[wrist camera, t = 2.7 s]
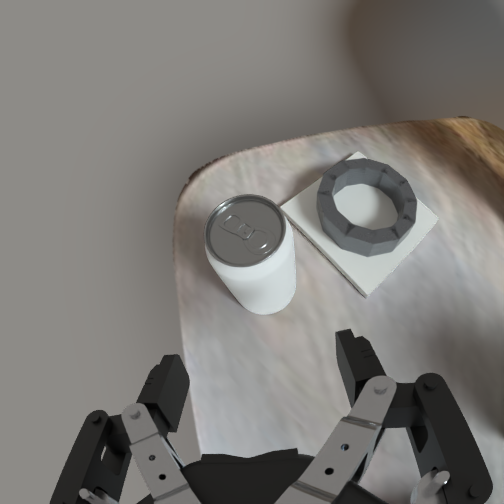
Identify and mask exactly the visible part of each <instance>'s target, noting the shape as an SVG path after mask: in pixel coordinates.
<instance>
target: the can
mask: <svg viewBox="0 0 504 504" xmlns="http://www.w3.org/2000/svg"><path fill="white" fill-rule="evenodd" d="M204 241H205V250H206V255H207V258H208V260H209V262H210V264H211V266H212V267H213V269H214V270H215V271H216V273H217V274H218V275H219V277H220V278H221V279H222V281H223V282H224V283H225V285H226V286H227V287H228V289H229V290H230V291H231V293H232V294H233V295H234V296H235V298H236V299H237V300H238V301H239V303H240V304H241V305H242V306H243V307H244V308H246V309H247V310H249V311H250V312H253V313H256V314H262V315H266V314H272V313H275V312H278V311H280V310H282V309H283V308H285V307H286V306H287V305H288V304H289V302H290V301H291V299H292V297H293V295H294V293H295V289H296V268H295V252H294V240H293V233H292V229H291V226H290V224H289V222H288V220H287V218H286V217H285V216H284V215H283V213H282V211H281V209H280V208H279V207H278V206H277V205H276V204H275V203H274V202H273V201H271V200H269V199H268V198H265V197H263V196H259V195H252V194H246V195H239V196H235V197H232V198H230V199H228V200H226V201H224V202H223V203H221V204H220V205H218V206H217V207H216V208H215V209H214V210H213V212H212V213H211V214H210V216H209V217H208V219H207V221H206V224H205V228H204Z"/></svg>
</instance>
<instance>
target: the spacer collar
mask: <svg viewBox="0 0 504 504" xmlns="http://www.w3.org/2000/svg"><path fill="white" fill-rule="evenodd" d="M357 184H365V185H368V186H372V187H375V188H378V189H380V190H381V191H382V192H383V193H384V194H386V195H387V196H388V197H389V198H390V199H391V200H392V202H393V204H394V206H395V209H396V211H397V213H398V218H397V222H396V223H395V224H394V225H393V226H392V227H387V228H381V229H376V230H371V229H368V228H364V227H361V226H358V225H355V224H352V223H351V222H350V221H349V220H348V219H347V218H346V217H344V216H343V215H342V214H341V213H340V212H339V211H338V210H337V208H336V205H335V202H334V199H333V198H334V195H335V194H337V193H338V192H339V191H340V190H342V189H343V188H344V187H346V186H350V185H357ZM316 209H317V213H318V216H319V219H320V223H321V227H322V230H323V232H325V233H326V234H327V235H328V236H329V237H330V238H331V239H332V240H333V241H334V242H335V243H336V244H337V245H338V246H339V247H340V248H341V249H343V250H346V251H349V252H353V253H356V254H359V255H362V256H365V257H371V256H376V255H380V254H385V253H390V252H392V251H393V250H394V249H395V248H396V247H397V246H398V245H399V244H400V243H401V242H402V241H403V240H404V239H405V238H406V237H407V236H408V234H409V232H410V231H411V229H412V227H413V226H414V224H415V222H416V211H417V199H416V197H415V195H414V193H413V191H412V189H411V187H410V185H409V183H408V181H407V180H406V179H405V178H404V177H403V176H402V175H400V174H399V173H398V172H397V171H395V170H394V169H393V168H391V167H390V166H389V165H387V164H384V163H380V162H377V161H373V160H370V159H366V158H360V159H351V160H344V161H340V162H339V163H338V164H336V165H335V166H333V167H332V168H330V169H329V170H328V171H326V172H325V173H324V175H323V178H322V180H321V183H320V186H319V189H318V192H317V205H316Z"/></svg>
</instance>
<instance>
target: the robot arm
mask: <svg viewBox="0 0 504 504" xmlns="http://www.w3.org/2000/svg"><path fill="white" fill-rule="evenodd" d="M335 336H336V356H337V363H338V367H339V370H340V373H341V376H342V379H343V382H344V386H345V389H346V392H347V395H348V399H349V402H350V405H351V408H352V409H351V411H350V413H349V414H348V416H347V417H343V418H342V419H341V420H340V421H339V423H338V424H337V426H336V428H335V429H334V431H333V432H332V434H331V435H330V437H329V438H328V440H327V441H326V443H325V444H324V446H323V447H322V448H321V450H320V451H319V453H318V454H317V455H316V457H313V456H310V455H304V454H298V450H297V448H295V449H287V450H279V451H272V452H268V453H265V454H262V455H258V456H255V457H251V458H243V457H237V456H232V455H226V454H202V457H201V460H200V461H196V462H193V463H190V464H188V465H186V466H185V464H184V463H183V461H182V460H181V458H180V457H179V455H178V454H177V452H176V450H175V449H174V447H173V445H172V444H171V442H170V440H169V439H168V437H167V434H168V432H177V428H178V425H179V421H180V418H181V414H182V410H183V407H184V403H185V400H186V396H187V393H188V389H189V385H190V380H189V375H188V373H187V371H186V369H185V367H184V365H183V362H182V360H181V358H180V356H179V355H178V354H174V355H164V356H163V358H162V360H161V362H160V365H156V366H155V367H154V368H153V369H152V370H151V371H150V373H149V375H148V378H147V380H146V382H145V385H144V386H143V388H142V391H141V393H140V395H139V397H138V400H137V402H136V403H134V404H131V405H129V406H127V407H126V408H125V409H124V410H123V412H122V414H120V415H115V416H108V414H107V413H106V412H105V411H103V410H96V411H93V412H92V413H90V414H89V415H88V416H87V418H86V420H85V422H84V424H83V426H82V428H81V430H80V432H79V434H78V436H77V439H76V441H75V443H74V445H73V447H72V450H71V452H70V454H69V456H68V459H67V461H66V463H65V466H64V468H63V470H62V473H61V475H60V478H59V480H58V483H57V485H56V488H55V490H54V493H53V495H52V498H51V501H50V504H119V499H120V496H121V492H122V488H123V485H124V481H125V477H126V474H127V470H128V467H129V463H130V460H131V456H132V455H133V457H134V459H135V461H136V464H137V466H138V468H139V470H140V472H141V475H142V477H143V479H144V481H145V483H146V485H147V487H148V489H149V491H150V494H149V495H148V496H146V497H145V498H144V499H142V500H141V501H139V502H138V503H137V504H388V503H386V502H385V501H383V500H381V499H380V498H378V497H376V496H375V495H373V494H372V493H370V492H368V491H367V490H365V489H364V488H362V487H361V486H359V485H358V484H359V482H360V481H361V479H362V477H363V476H364V474H365V472H366V470H367V468H368V466H369V464H370V461H371V459H372V457H373V455H374V453H375V451H376V449H377V447H378V445H379V443H380V441H381V439H382V437H383V435H384V433H385V431H386V429H387V428H402V427H406V430H407V433H408V436H409V439H410V442H411V445H412V448H413V451H414V455H415V458H416V461H417V465H418V468H419V472H420V475H421V480H420V481H419V483H418V484H417V485H416V486H415V488H414V489H413V491H412V493H411V497H410V498H411V503H410V504H484V503H485V502H486V501H487V500H488V499H489V497H490V495H491V493H492V490H493V483H492V480H491V477H490V475H489V472H488V470H487V467H486V465H485V462H484V460H483V457H482V455H481V453H480V450H479V448H478V446H477V444H476V441H475V439H474V437H473V435H472V433H471V430H470V428H469V426H468V424H467V422H466V420H465V418H464V416H463V414H462V412H461V410H460V408H459V406H458V404H457V402H456V401H455V399H454V397H453V395H452V393H451V391H450V389H449V388H448V386H447V384H446V382H445V380H444V379H443V378H442V377H441V376H440V375H438V374H436V373H426V374H423V375H421V376H420V377H418V379H417V380H416V382H415V383H397V382H395V381H394V380H393V379H392V378H390V377H388V376H387V375H386V374H385V372H384V370H383V368H382V365H381V363H380V361H379V359H378V357H377V356H376V354H375V352H374V350H373V348H372V346H371V344H370V342H369V341H368V340H367V339H365V338H364V337H363V336H361V337H356V338H355V337H354V335H353V333H352V331H351V329H347V330H342V331H338V332H336V333H335ZM104 446H105V447H106V451H105V453H104V456H103V459H102V461H101V455H102V452H103V449H104Z"/></svg>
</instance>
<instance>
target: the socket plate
mask: <svg viewBox="0 0 504 504" xmlns="http://www.w3.org/2000/svg"><path fill="white" fill-rule="evenodd" d="M360 158H366V157H365V156H364V155H362V154H361V153H360V152H356V153H355V154H354V155H352V156H351V157H349V158H348V159H346V160H351V159H360ZM366 159H368V158H366ZM322 178H323V176H322V177H321V178H320V179H318V180H317V181H315V182H314V183H313V184H311V185H310V186H308V187H307V188H306V189H304V190H303V191H301V192H300V193H299V194H297V195H296V196H295V197H293V198H292V199H290V200H289V201H288V202H286V203H285V204H284V205H282V206H281V207H280V209H281V211H282V213H283V215H284V216H285V217H286V218H287V219H288V220H289V221H291V222H292V223H293V224H294V225H295V226H296V227H297V228H298V229H299V230H300V231H301V232H302V233H303V234H304V235H305V236H306V237H307V238H308V239H309V240H310V241H311V242H312V243H313V244H314V245H315V246H316V247H317V248H318V249H319V250H320V251H321V252H322V253H323V254H324V255H325V256H326V257H327V258H328V259H329V260H330V261H331V262H332V263H333V264H334V265H335V266H336V268H337V269H338V270H339V271H340V272H341V273H342V274H343V275H344V276H345V277H346V278H347V279H348V280H349V281H350V282H351V283H352V284H353V285H354V286H355V287H356V288H357V289H358V291H359V292H360V293H361V294H362V295H363V296H364V297H365V298H367V297H368V296H369V295H370V294H371V293H372V292H373V291H374V290H375V289H376V288H377V287H378V286H379V285H380V284H381V283H382V282H383V281H384V280H385V279H386V278H387V277H388V276H389V275H390V274H391V273H392V272H393V271H394V270H395V269H396V268H397V267H398V265H399V264H400V263H401V262H402V261H403V260H404V259H405V258H406V257H407V256H408V255H409V254H410V252H411V251H412V250H413V249H414V248H415V247H416V246H417V245H418V244H419V242H420V241H421V240H422V239H423V238H424V237H425V235H426V234H427V233H428V232H429V231H430V230H431V228H432V227H433V226H434V225H435V224H436V222H437V221H438V219H439V218H438V217H437V216H436V215H435V214H434V213H433V212H432V211H431V210H430V209H429V208H427V207H426V206H425V205H424V204H423V203H422V202H421V201H420V200H419V199H417V198H416V199H417V211H416V222H415V224H414V226H413V227H412V229H411V231H410V232H409V234H408V236H407V237H406V238H405V239H404V240H403V241H402V242H401V243H400V244H399V245H398V246H397V247H396V248H395V249H394V250H393V251H392V252H390V253H385V254H380V255H376V256H371V257H365V256H362V255H359V254H356V253H353V252H349V251H346V250H343V249H341V248H340V247H339V246H338V245H337V244H336V243H335V242H334V241H333V240H332V239H331V238H330V237H329V236H328V235H327V234H326V233H325V232H323V230H322V227H321V223H320V219H319V216H318V213H317V209H316V205H317V192H318V189H319V186H320V183H321V180H322ZM333 199H334V202H335V205H336V208H337V210H338V211H339V212H340V213H341V214H342V215H343V216H344V217H346V218H347V219H348V220H349V221H350V222H351V223H352V224H355V225H358V226H361V227H364V228H368V229H371V230H376V229H381V228H387V227H392V226H393V225H394V224H395V223H396V222H397V218H398V213H397V211H396V209H395V206H394V204H393V202H392V200H391V199H390V198H389V197H388V196H387V195H386V194H384V193H383V192H382V191H381V190H380V189H378V188H375V187H372V186H368V185H365V184H357V185H350V186H346V187H344V188H343V189H342V190H340V191H339V192H338V193H337V194H335V195H334V198H333Z"/></svg>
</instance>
